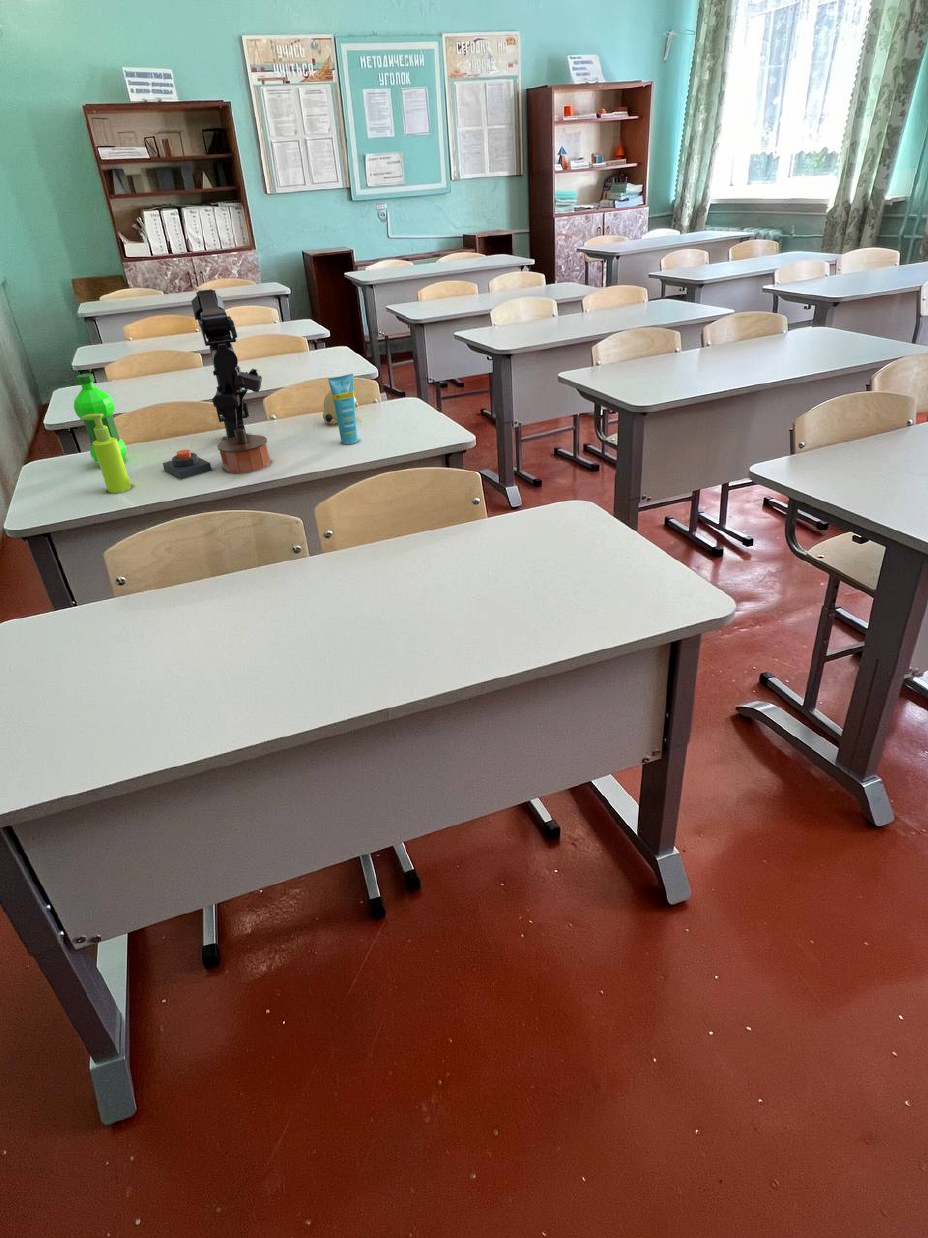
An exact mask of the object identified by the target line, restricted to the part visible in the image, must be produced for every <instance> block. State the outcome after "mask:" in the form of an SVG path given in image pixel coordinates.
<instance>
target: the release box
mask: <svg viewBox="0 0 928 1238" xmlns="http://www.w3.org/2000/svg"><path fill="white" fill-rule="evenodd" d="M190 453H191V457H190V458H187V459H178V457H177V454H176V455H174V456H172V458H171V460H169V461H164V462H162V466H163V469H164V472H167V473H169V474H170V475H172V476H174V477H175V478H177V479H179V480H184V479H187V478H190V477H193V476H198V475H201V474H204V473H207V472H210V471H212V470H213V469H212V464H211V463H210V462H209V461H207V460H205V459H203V458H202V457H199V456H198V454H197V453H195V452H190Z"/></svg>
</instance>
